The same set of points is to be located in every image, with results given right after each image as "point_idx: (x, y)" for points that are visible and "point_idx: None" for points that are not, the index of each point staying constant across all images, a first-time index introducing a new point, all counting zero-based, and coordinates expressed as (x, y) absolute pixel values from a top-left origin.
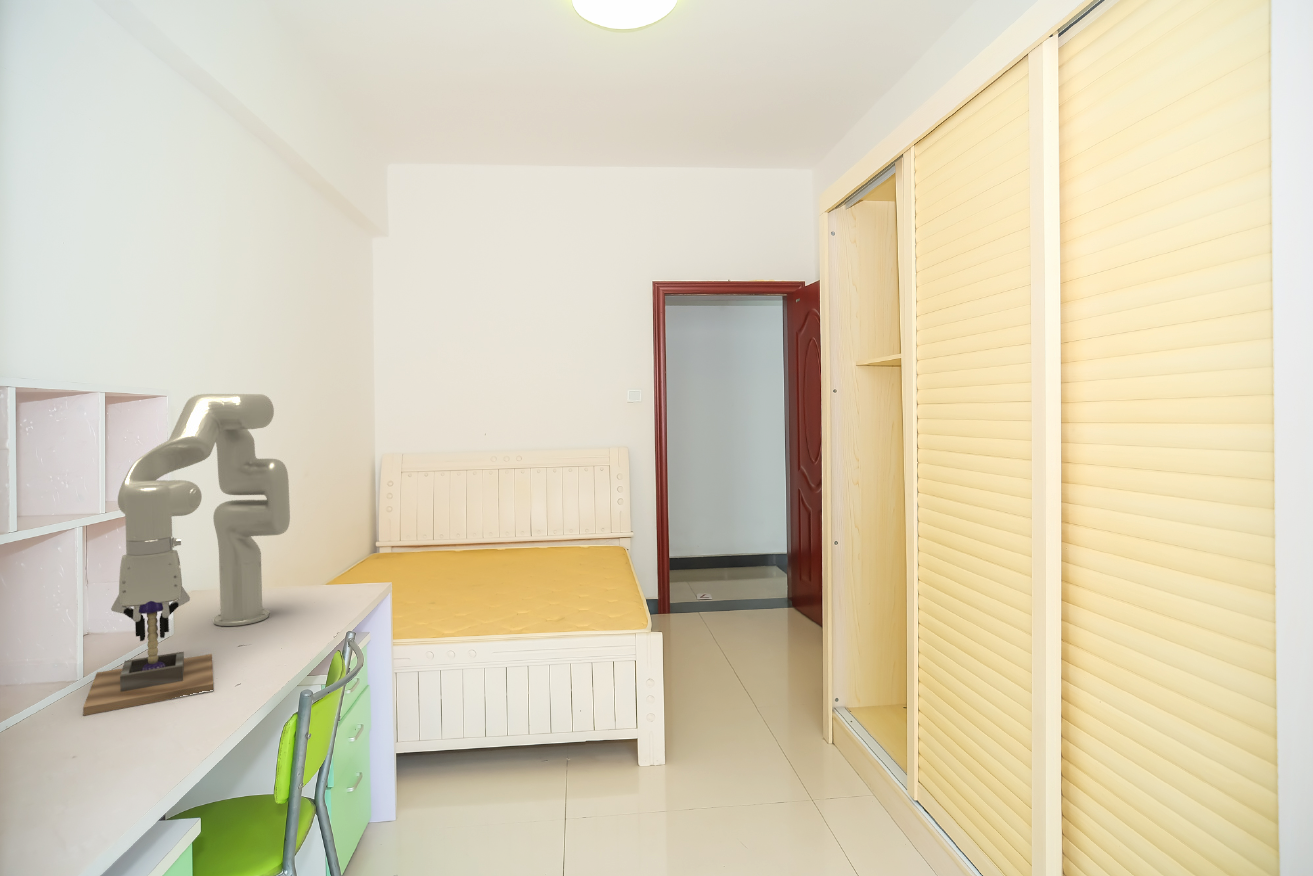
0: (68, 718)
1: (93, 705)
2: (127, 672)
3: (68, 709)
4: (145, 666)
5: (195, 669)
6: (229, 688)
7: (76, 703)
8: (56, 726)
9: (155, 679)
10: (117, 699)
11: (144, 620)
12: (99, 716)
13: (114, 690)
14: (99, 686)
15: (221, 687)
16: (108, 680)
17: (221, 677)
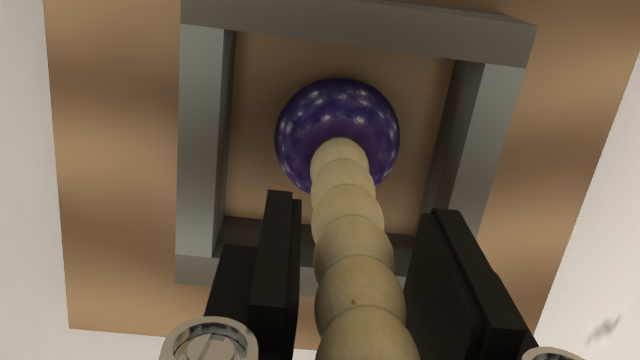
0: (34, 297)
1: (103, 329)
2: (206, 241)
3: (9, 200)
4: (296, 170)
5: (527, 134)
6: (563, 348)
7: (24, 143)
8: (12, 346)
9: None
10: (185, 320)
11: (292, 348)
12: (139, 341)
13: (165, 204)
14: (89, 89)
15: (546, 321)
16: (120, 9)
17: (592, 207)
